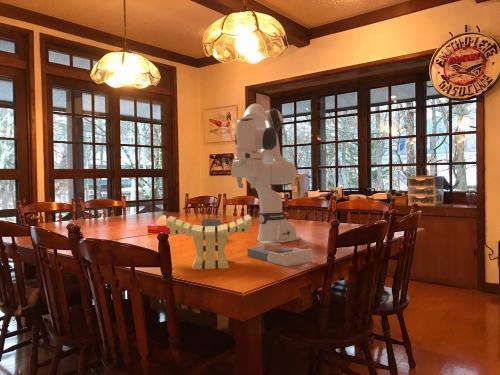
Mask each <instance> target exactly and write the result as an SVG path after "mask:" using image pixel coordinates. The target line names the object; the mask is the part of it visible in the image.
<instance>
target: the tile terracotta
mask: <svg viewBox="0 0 500 375" xmlns="http://www.w3.org/2000/svg"><path fill="white" fill-rule="evenodd" d="M282 247H283V245H282V243H279V242H273V243H267V244H266V250H268V251H272V252H274V251H280V250H282Z"/></svg>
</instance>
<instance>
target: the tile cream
mask: <svg viewBox="0 0 500 375" xmlns="http://www.w3.org/2000/svg"><path fill="white" fill-rule="evenodd" d="M267 243H274V242H270V241H258V242H257V247H258V248H260V249H264V250H265V249H266V244H267Z"/></svg>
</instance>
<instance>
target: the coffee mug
mask: <svg viewBox="0 0 500 375" xmlns="http://www.w3.org/2000/svg"><path fill="white" fill-rule="evenodd" d="M221 220H222V219H221V218H217V217H216V218H213V217H212V218H210V217H209V218H201V220H200V221H201V222H200V223H201V224H200V226H203V227H205V226H215V227H217V226H219V225H222V223H221ZM203 241H205V235H204V233H203ZM215 241H218V232H215Z"/></svg>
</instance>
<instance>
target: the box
mask: <svg viewBox="0 0 500 375" xmlns="http://www.w3.org/2000/svg"><path fill="white" fill-rule="evenodd" d="M292 250H293V251H291V252H284V253H275V252H271V251H269V252H268V255H267V261H266V262H267V263H270V264H274V265H277V266H281V267H284V268H288V267H293V266H299V265H304V264H309V263H311V264H312V263H313V248H306V249H302V248H297V247H293V248H292Z"/></svg>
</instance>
